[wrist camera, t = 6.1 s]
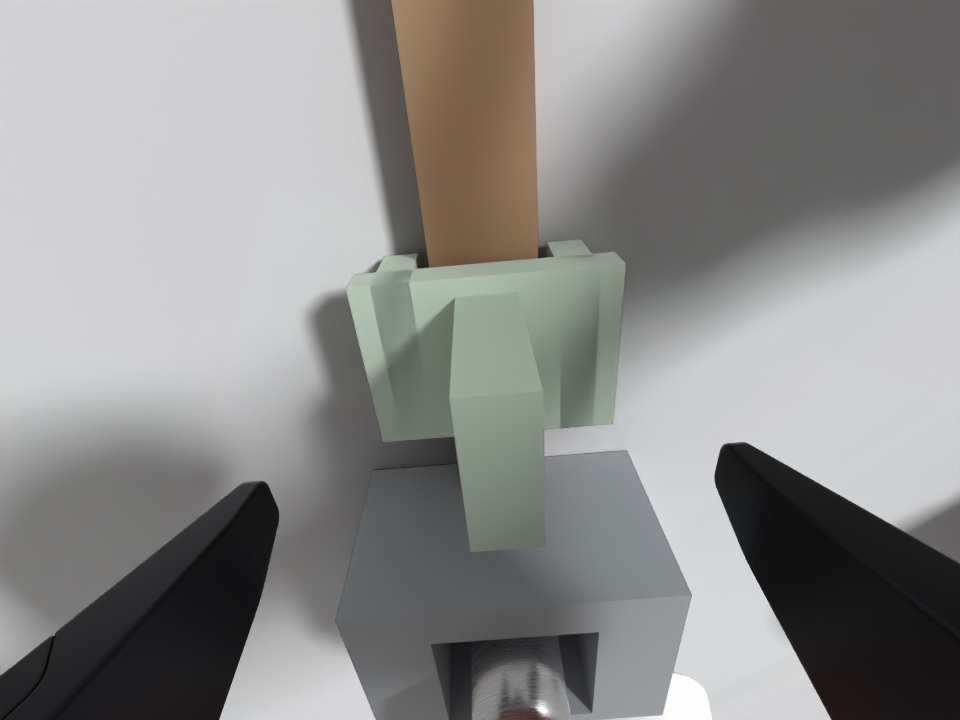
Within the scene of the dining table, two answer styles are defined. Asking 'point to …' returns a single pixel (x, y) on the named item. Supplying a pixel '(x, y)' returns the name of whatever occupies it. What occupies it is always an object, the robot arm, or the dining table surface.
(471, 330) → the carriage
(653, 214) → the dining table surface
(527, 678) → the plunger
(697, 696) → the mug
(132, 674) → the robot arm
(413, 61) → the rail
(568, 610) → the housing
